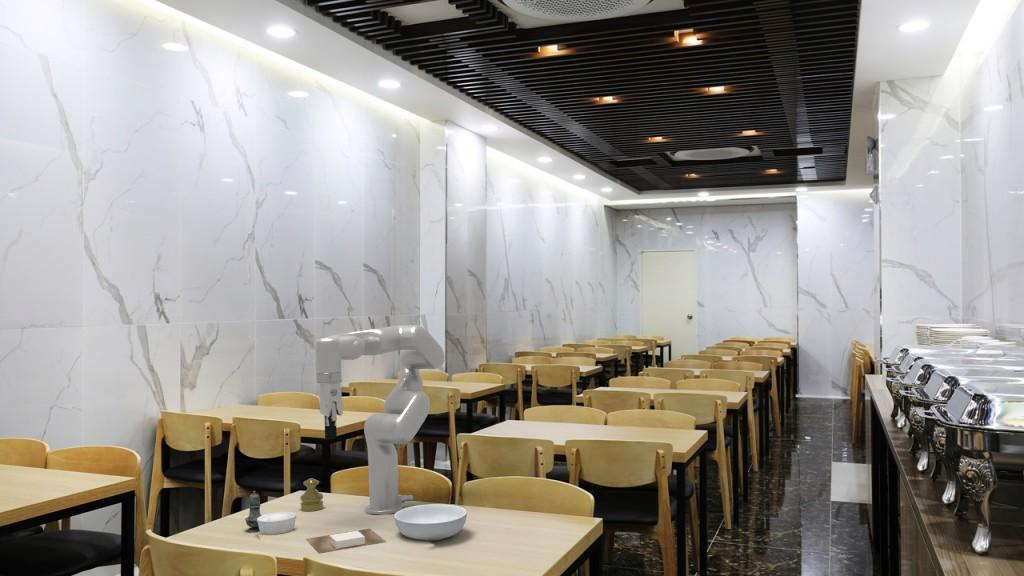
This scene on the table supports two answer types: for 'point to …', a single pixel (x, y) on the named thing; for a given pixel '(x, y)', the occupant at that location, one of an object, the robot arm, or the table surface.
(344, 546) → the tile
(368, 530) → the board
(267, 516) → the ramekin
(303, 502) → the olive chess piece
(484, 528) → the table surface
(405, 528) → the serving bowl
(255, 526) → the salt shaker
